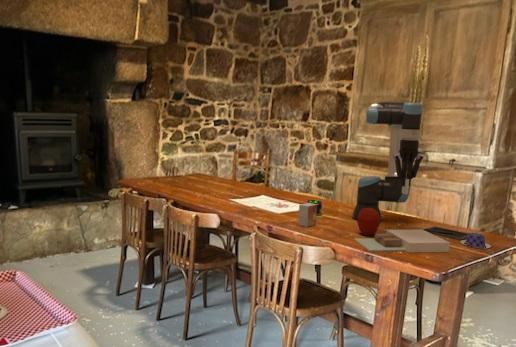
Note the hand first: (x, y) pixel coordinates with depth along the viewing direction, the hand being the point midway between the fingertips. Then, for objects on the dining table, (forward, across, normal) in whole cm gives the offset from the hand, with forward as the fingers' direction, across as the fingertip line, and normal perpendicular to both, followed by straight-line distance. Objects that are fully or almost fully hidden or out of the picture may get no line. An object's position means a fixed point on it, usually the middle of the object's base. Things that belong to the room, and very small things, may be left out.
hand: (404, 193), depth 174 cm
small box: (+22, -35, +28) cm, 50 cm away
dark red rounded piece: (+22, -11, +11) cm, 27 cm away
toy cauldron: (+23, -26, +51) cm, 62 cm away
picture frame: (+23, +30, +12) cm, 40 cm away
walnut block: (+21, -9, -5) cm, 23 cm away
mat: (+22, -12, -5) cm, 25 cm away
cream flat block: (+22, +5, -5) cm, 23 cm away
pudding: (+23, +33, -5) cm, 40 cm away
